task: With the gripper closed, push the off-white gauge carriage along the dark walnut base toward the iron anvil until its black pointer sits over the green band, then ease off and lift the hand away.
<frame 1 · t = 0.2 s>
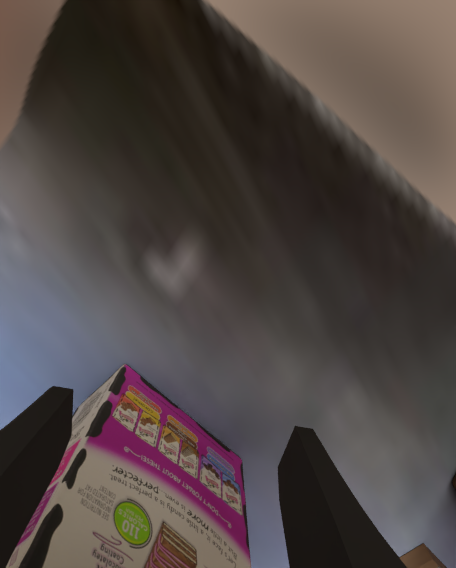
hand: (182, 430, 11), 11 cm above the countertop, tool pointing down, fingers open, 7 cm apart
candy bar box: (163, 432, 24), on the countertop
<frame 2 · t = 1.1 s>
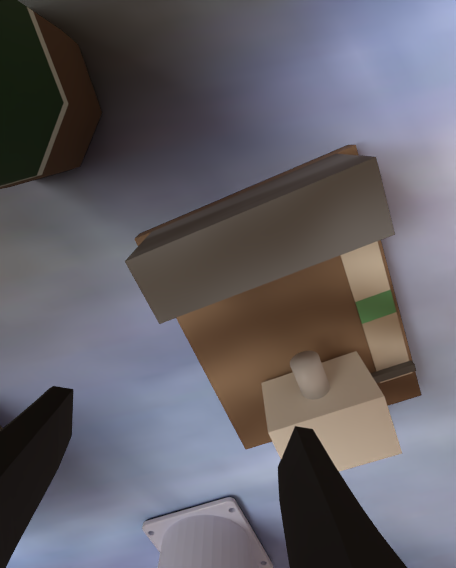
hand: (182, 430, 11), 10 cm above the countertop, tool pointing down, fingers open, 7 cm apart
beer bottle: (29, 101, 17), on the countertop
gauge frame: (287, 314, 21), on the countertop
gauge carriage: (345, 394, 19), point 4 cm above the countertop, slide at 0.0 cm
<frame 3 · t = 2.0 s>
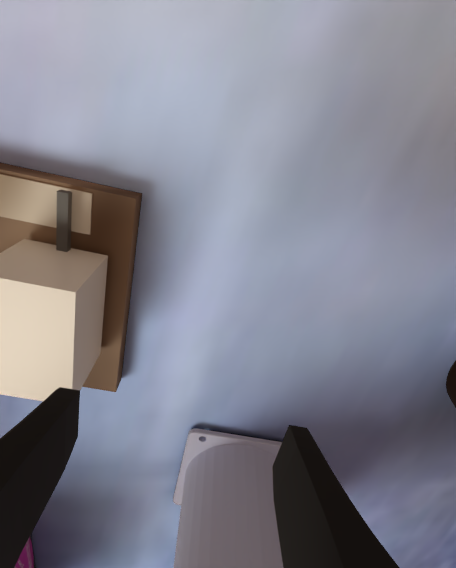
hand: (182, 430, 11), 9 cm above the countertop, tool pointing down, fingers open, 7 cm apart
candy bar box: (10, 544, 31), on the countertop
gauge carriage: (24, 290, 16), point 4 cm above the countertop, slide at 0.0 cm
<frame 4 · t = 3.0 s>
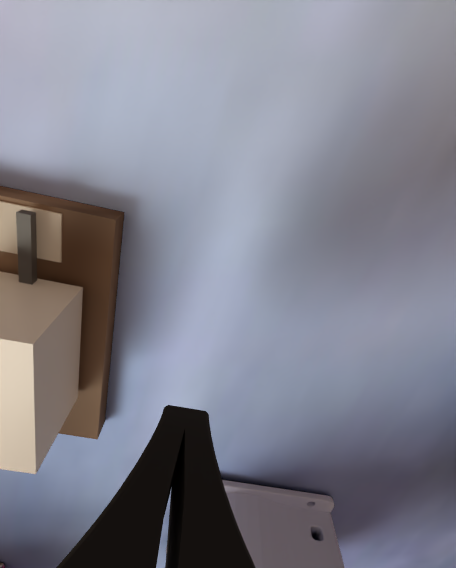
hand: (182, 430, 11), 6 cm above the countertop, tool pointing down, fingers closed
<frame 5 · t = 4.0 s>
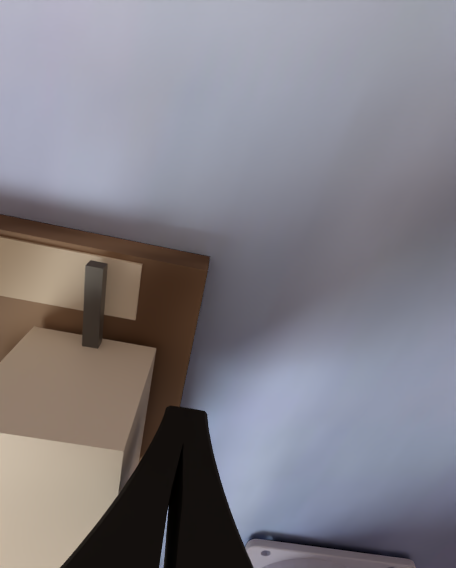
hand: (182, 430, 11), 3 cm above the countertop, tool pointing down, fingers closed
gauge carriage: (35, 414, 10), point 4 cm above the countertop, slide at 0.2 cm, touching gripper
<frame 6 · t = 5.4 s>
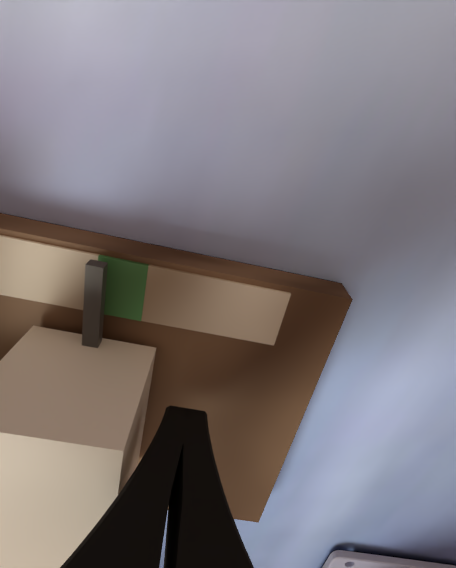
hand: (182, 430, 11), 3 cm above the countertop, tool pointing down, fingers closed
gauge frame: (101, 375, 14), on the countertop
gauge carriage: (34, 413, 10), point 4 cm above the countertop, slide at 4.9 cm, touching gripper
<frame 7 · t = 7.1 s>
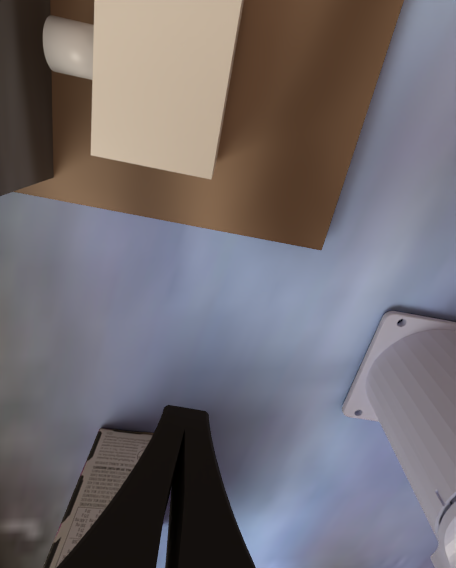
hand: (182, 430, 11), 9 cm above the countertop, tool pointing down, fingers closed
candy bar box: (133, 477, 27), on the countertop
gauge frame: (180, 79, 15), on the countertop
gauge carriage: (147, 15, 11), point 3 cm above the countertop, slide at 4.9 cm
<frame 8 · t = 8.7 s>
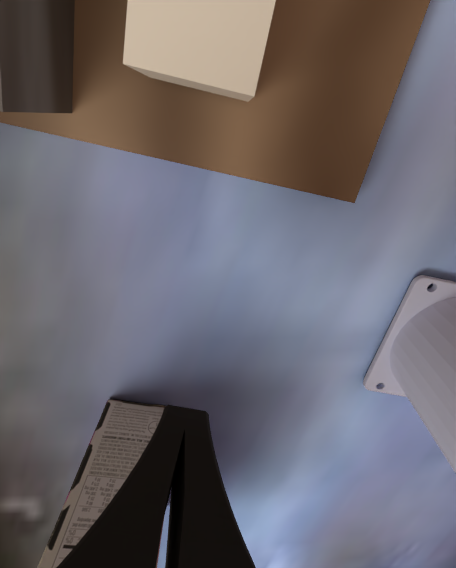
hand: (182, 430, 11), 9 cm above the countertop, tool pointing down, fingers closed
candy bar box: (141, 454, 26), on the countertop
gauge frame: (212, 9, 14), on the countertop
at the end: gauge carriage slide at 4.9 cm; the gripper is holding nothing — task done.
